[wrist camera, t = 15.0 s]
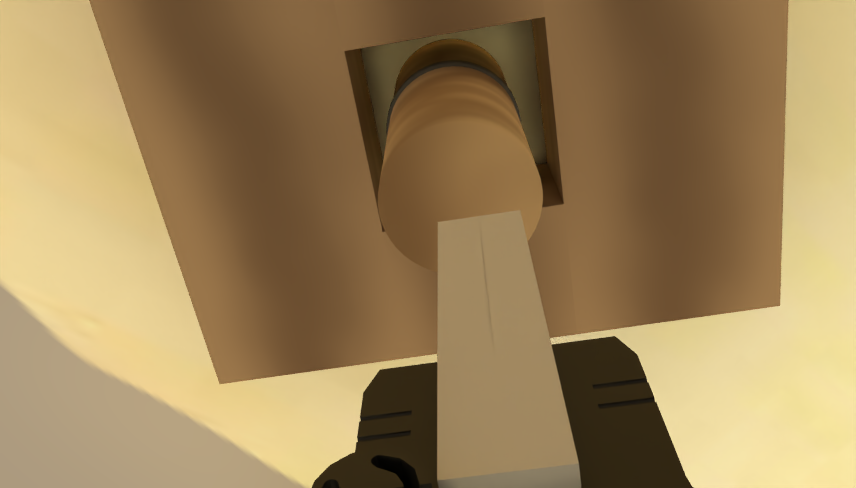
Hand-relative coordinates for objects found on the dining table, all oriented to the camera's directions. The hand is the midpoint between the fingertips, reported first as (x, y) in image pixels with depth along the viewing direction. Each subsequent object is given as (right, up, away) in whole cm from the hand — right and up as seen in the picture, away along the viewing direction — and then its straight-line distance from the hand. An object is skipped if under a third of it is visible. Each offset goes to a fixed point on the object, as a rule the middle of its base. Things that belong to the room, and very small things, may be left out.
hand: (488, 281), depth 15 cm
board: (0, +6, +13) cm, 15 cm away
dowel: (0, +6, +13) cm, 15 cm away
